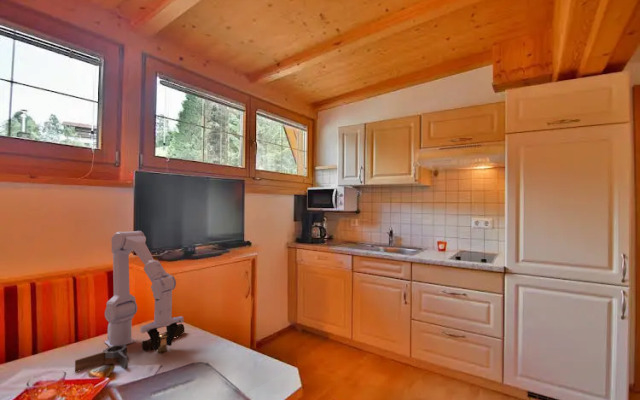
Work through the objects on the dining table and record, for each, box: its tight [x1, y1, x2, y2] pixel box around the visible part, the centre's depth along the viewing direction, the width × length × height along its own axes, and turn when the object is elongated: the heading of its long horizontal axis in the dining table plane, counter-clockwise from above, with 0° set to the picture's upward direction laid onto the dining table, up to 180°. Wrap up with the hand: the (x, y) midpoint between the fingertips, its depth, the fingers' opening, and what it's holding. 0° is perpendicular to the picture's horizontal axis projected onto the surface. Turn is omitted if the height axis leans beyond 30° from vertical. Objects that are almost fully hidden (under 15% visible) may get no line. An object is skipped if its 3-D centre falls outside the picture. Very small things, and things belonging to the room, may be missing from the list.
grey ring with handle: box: [102, 345, 129, 370], centre depth 103 cm, size 14×6×4 cm, turn 50°
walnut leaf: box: [74, 350, 128, 373], centre depth 103 cm, size 6×14×4 cm, turn 141°
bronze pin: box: [157, 332, 168, 355], centre depth 111 cm, size 4×4×6 cm
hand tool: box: [141, 323, 185, 352], centre depth 120 cm, size 19×4×5 cm, turn 157°
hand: (162, 347), depth 111 cm, fingers open, 4 cm apart
